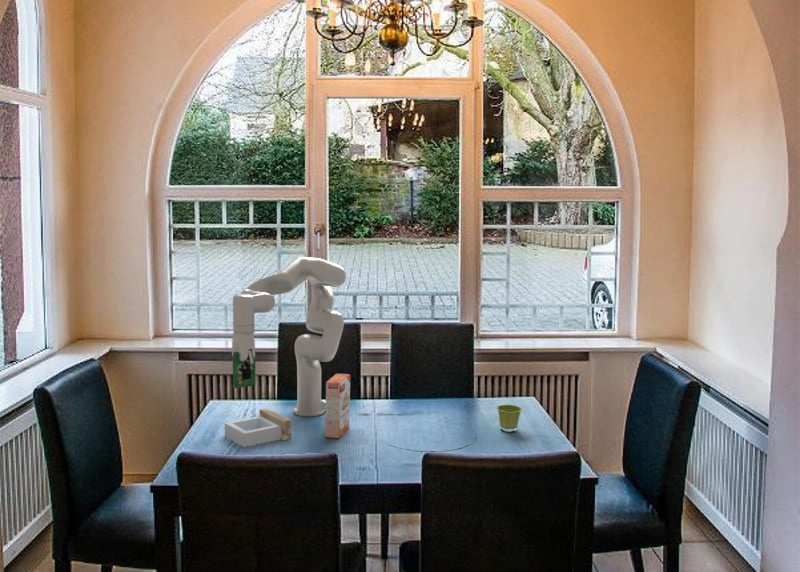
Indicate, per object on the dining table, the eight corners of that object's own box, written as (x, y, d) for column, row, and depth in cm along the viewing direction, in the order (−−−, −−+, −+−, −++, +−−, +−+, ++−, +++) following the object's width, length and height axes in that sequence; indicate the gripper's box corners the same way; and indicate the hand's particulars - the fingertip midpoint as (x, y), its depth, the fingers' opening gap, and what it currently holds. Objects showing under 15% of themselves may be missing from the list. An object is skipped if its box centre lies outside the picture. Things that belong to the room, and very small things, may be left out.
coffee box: (252, 384, 298) (252, 349, 296) (256, 385, 296) (255, 350, 294) (232, 387, 293) (231, 351, 291) (235, 389, 291) (235, 353, 289)
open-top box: (261, 428, 303) (261, 415, 303) (281, 439, 292) (281, 425, 291) (224, 436, 294) (224, 422, 293) (244, 447, 282) (243, 433, 282)
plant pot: (524, 428, 308) (525, 406, 307) (516, 435, 300) (517, 413, 299) (500, 425, 312) (501, 403, 311) (492, 432, 304) (493, 409, 302)
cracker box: (340, 439, 293) (340, 383, 290) (324, 438, 294) (324, 381, 291) (350, 427, 306) (351, 373, 303) (335, 426, 307) (335, 372, 304)
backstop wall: (266, 426, 306) (266, 408, 305) (291, 438, 292) (291, 420, 291) (259, 427, 304) (259, 409, 303) (284, 440, 290) (283, 421, 289)
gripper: (224, 325, 296) (225, 374, 298) (244, 333, 283) (244, 384, 285) (243, 323, 300) (244, 372, 303) (263, 331, 287) (264, 381, 290)
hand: (244, 377), depth 294 cm, fingers closed on coffee box, 3 cm apart
